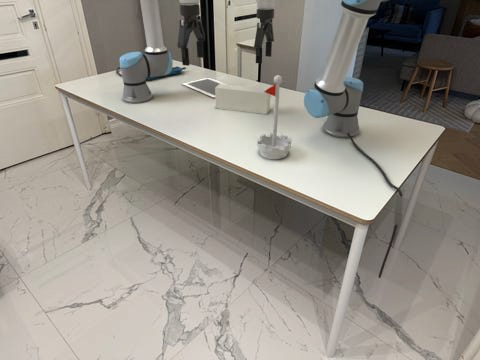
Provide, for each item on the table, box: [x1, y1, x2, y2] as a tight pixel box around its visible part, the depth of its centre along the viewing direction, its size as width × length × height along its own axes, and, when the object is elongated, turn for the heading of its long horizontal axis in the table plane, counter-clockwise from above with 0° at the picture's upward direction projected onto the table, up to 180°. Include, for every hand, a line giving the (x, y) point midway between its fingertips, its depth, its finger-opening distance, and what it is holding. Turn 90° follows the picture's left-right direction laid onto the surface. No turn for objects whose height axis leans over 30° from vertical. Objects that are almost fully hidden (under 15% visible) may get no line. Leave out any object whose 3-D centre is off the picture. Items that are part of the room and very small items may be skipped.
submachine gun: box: [146, 66, 187, 81], centre depth 223 cm, size 34×4×25 cm
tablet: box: [181, 77, 229, 99], centre depth 200 cm, size 32×20×1 cm, turn 41°
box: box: [214, 83, 272, 115], centre depth 169 cm, size 27×6×11 cm, turn 72°
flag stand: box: [256, 74, 292, 160], centre depth 125 cm, size 13×13×30 cm
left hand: (193, 61), depth 141 cm, fingers open, 13 cm apart
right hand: (263, 59), depth 156 cm, fingers open, 13 cm apart
